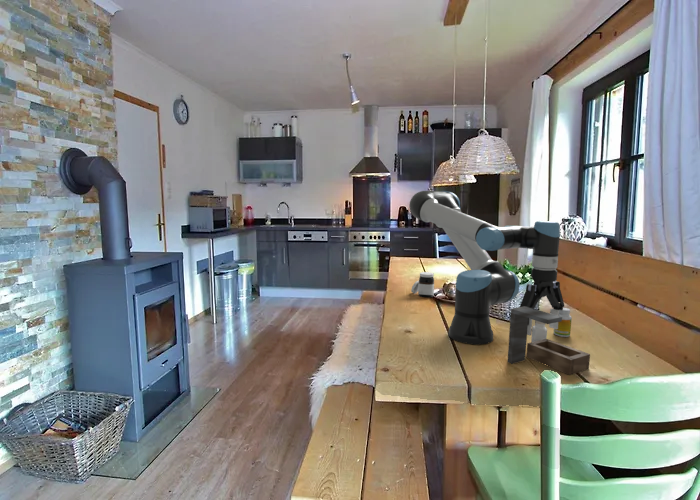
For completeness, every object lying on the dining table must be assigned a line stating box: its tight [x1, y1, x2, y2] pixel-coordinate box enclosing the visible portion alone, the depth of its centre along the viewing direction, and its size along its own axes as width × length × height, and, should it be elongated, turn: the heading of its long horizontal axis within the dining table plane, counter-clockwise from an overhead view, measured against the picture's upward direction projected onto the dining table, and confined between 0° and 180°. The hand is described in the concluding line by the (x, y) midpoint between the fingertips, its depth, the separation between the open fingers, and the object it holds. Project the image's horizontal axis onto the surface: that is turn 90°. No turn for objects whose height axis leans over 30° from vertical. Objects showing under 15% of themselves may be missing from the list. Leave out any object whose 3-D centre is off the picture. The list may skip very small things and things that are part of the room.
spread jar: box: [410, 271, 435, 299], centre depth 198 cm, size 12×11×12 cm
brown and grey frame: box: [506, 306, 591, 376], centre depth 114 cm, size 14×18×17 cm
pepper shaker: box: [530, 320, 548, 343], centre depth 131 cm, size 4×4×10 cm
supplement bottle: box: [553, 307, 572, 338], centre depth 142 cm, size 5×5×10 cm
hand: (540, 331), depth 131 cm, fingers open, 13 cm apart
